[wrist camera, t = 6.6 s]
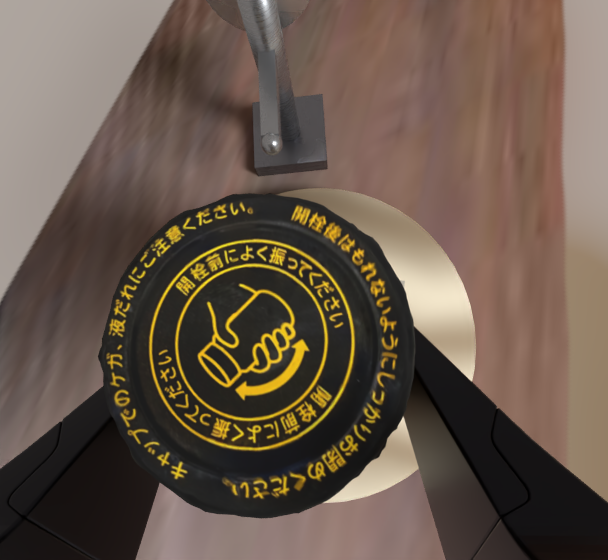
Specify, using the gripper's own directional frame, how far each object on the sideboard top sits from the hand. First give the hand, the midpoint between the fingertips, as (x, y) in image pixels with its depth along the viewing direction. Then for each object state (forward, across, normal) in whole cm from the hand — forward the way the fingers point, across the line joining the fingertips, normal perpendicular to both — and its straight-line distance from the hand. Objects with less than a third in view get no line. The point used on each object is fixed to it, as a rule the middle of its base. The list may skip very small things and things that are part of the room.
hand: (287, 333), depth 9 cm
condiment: (+5, 0, +6) cm, 8 cm away
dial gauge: (+17, +1, 0) cm, 17 cm away
